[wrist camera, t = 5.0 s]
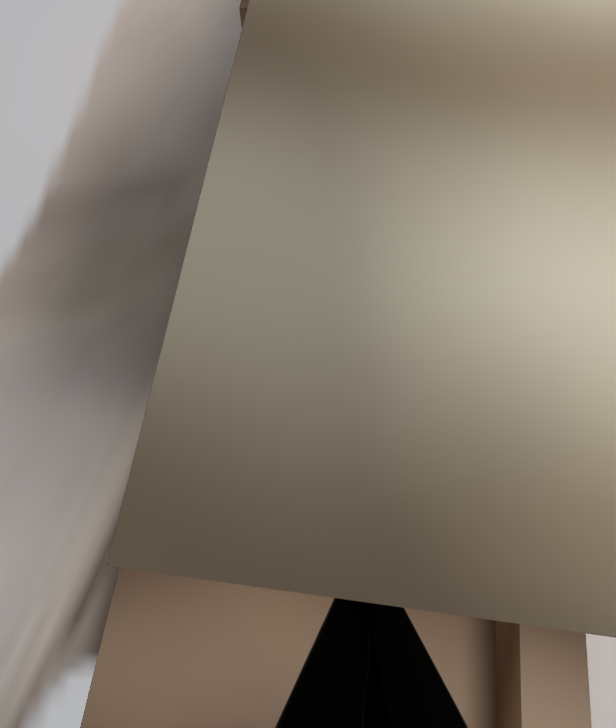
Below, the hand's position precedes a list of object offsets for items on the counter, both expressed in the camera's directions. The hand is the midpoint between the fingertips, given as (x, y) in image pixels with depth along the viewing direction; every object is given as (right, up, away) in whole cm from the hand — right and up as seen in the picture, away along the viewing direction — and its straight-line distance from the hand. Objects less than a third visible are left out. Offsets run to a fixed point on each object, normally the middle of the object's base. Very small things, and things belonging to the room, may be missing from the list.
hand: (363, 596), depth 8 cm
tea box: (+1, +5, +7) cm, 8 cm away
